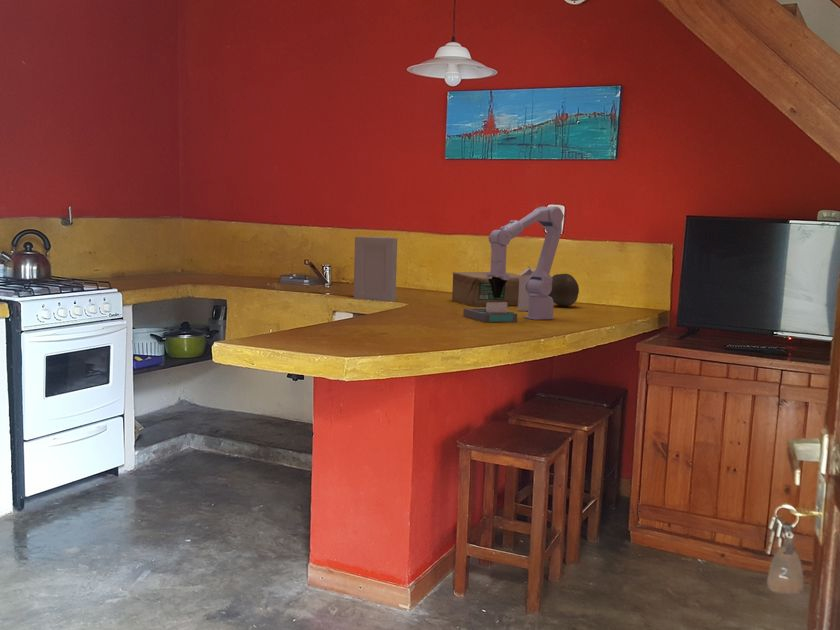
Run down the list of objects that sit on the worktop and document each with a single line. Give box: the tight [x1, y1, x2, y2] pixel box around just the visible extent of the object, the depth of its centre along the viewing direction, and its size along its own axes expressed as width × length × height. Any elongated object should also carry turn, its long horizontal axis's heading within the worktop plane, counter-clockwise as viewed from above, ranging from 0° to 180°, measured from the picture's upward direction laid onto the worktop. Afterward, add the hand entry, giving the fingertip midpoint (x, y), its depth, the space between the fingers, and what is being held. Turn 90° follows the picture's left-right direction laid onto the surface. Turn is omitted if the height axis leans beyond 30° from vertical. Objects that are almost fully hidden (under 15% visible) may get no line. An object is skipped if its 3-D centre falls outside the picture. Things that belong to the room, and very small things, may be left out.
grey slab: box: [485, 302, 508, 314], centre depth 311 cm, size 8×2×7 cm, turn 113°
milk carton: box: [517, 265, 536, 312], centre depth 347 cm, size 7×7×19 cm
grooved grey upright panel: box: [353, 236, 398, 302], centre depth 374 cm, size 19×15×28 cm
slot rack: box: [462, 307, 518, 323], centre depth 315 cm, size 14×18×3 cm
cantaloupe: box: [549, 273, 580, 308], centre depth 366 cm, size 14×14×15 cm
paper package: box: [451, 271, 520, 308], centre depth 370 cm, size 27×26×14 cm
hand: (496, 297), depth 310 cm, fingers closed
